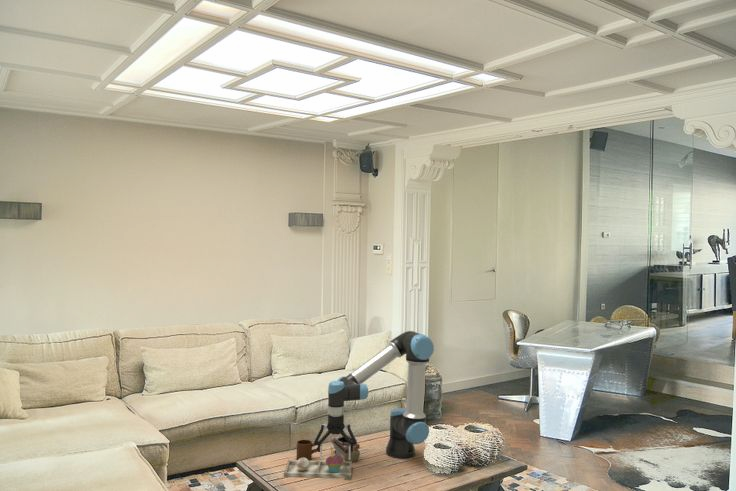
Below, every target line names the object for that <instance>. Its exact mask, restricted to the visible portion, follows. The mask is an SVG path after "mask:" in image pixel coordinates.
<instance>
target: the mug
mask: <svg viewBox="0 0 736 491" xmlns="http://www.w3.org/2000/svg"><path fill="white" fill-rule="evenodd" d="M316 446H317V447H316ZM313 447H316V448H313ZM317 452H318V445H317V444H314V442H313V441H312V440H310V439H300V440H297V441H296V460H297V461H298V460H299V459H300V458H303V457H304V458H306V459H308V461H312V459H313V458H312V457H313V454H314V453H317ZM318 453H319V452H318Z"/></svg>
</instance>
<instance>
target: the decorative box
mask: <svg viewBox="0 0 736 491" xmlns="http://www.w3.org/2000/svg"><path fill="white" fill-rule="evenodd" d="M346 435H347V436H348V437H349V438H350V440H351V441H352V442H353V440H352V438H351V436H350V435H349V434H346ZM355 439H356V441H357V438H356V437H355ZM330 442H331V444H332V445H333V448H334V449H335V454H336V456H340V457H341V458H342V459H343V462H351V463H353V462H355V461H359V460H360V455H361V451H360V450H359V449H360V448H361V447H360V444H359V443H358V441H357V444H356V445H353V452H350V460H349V443H348V442H347V440H346V439H345V438H344V437H343V436H342V435H336V436H333V437H331V438H330Z"/></svg>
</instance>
